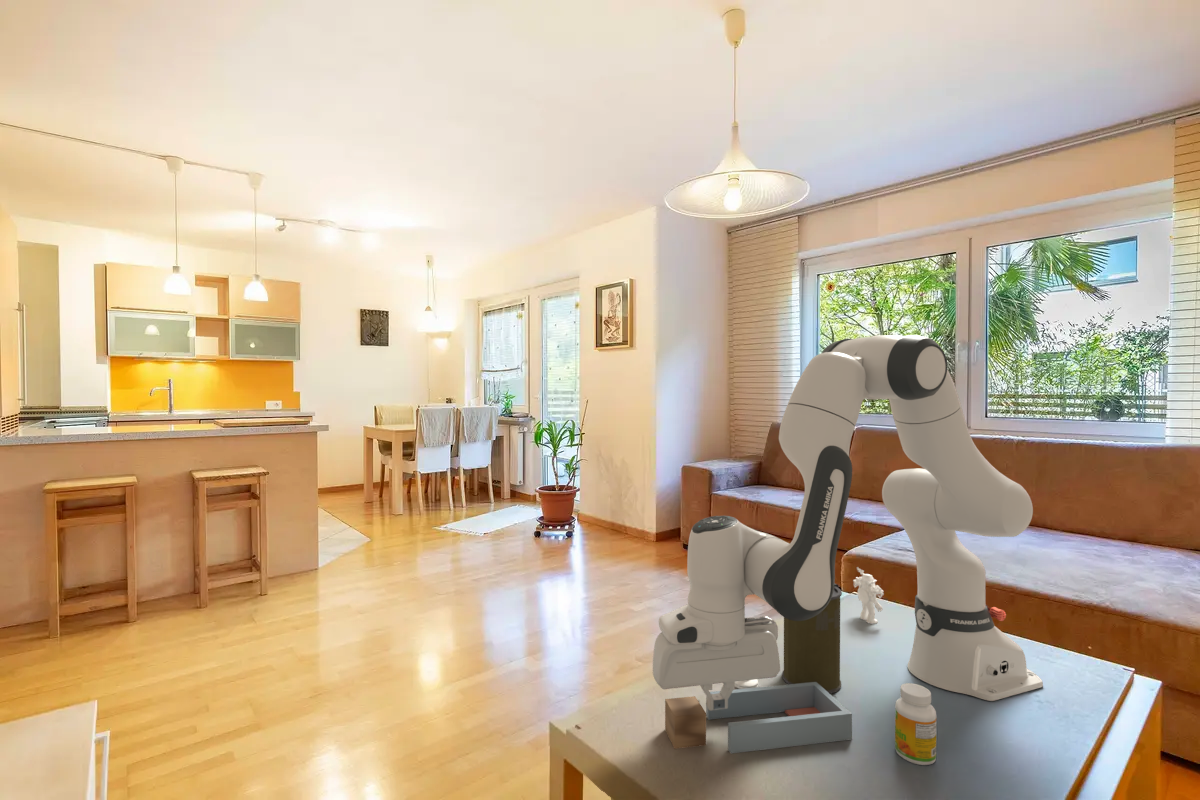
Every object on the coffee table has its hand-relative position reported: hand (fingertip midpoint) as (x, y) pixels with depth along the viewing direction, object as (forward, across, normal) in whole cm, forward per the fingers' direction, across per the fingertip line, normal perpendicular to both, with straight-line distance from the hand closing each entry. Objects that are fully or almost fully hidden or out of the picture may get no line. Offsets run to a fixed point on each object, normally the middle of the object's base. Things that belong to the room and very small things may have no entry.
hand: (717, 707), depth 89 cm
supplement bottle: (+5, -27, +10) cm, 29 cm away
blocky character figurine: (+5, -53, -37) cm, 65 cm away
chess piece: (+4, -11, -14) cm, 18 cm away
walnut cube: (+4, +5, 0) cm, 7 cm away
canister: (+5, -24, -13) cm, 27 cm away
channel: (+4, -10, 0) cm, 11 cm away
